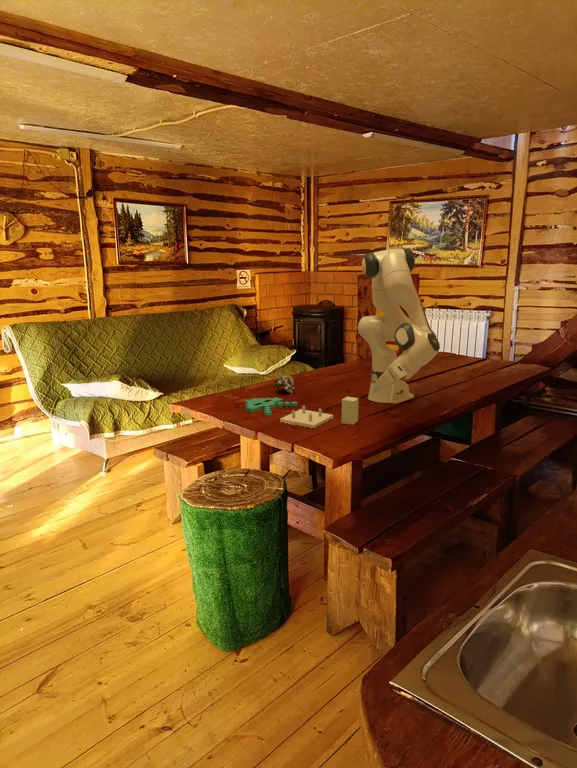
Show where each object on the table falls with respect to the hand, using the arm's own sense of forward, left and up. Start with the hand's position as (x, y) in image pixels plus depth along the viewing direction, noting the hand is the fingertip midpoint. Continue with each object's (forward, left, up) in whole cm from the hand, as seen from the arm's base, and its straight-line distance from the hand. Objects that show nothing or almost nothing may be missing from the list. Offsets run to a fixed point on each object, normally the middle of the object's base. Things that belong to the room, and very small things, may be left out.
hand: (378, 389), depth 216 cm
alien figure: (+22, -49, -16) cm, 56 cm away
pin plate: (+18, -23, -16) cm, 33 cm away
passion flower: (+2, -66, -16) cm, 68 cm away
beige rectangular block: (+5, -11, -16) cm, 20 cm away
